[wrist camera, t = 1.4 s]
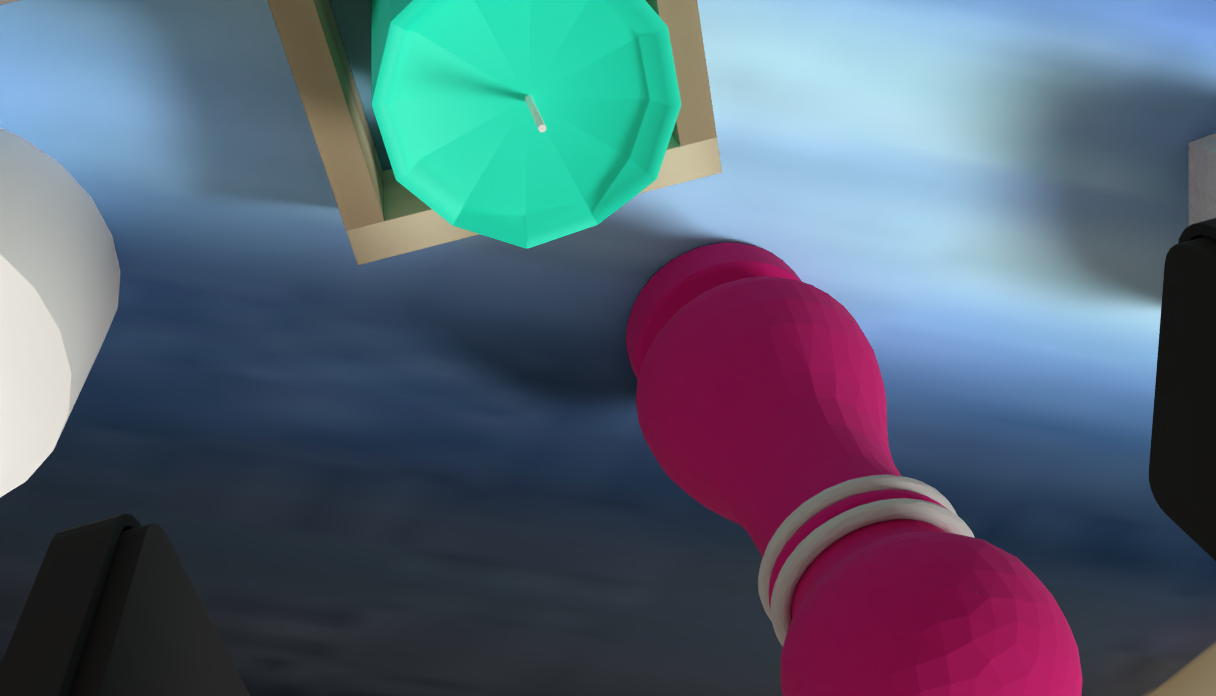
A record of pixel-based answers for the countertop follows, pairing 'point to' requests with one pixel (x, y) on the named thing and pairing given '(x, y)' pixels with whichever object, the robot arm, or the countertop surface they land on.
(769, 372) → the pepper mill
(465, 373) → the countertop surface
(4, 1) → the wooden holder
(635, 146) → the candle
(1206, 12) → the countertop surface
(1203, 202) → the grey angular block
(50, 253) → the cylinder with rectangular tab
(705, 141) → the wooden frame
